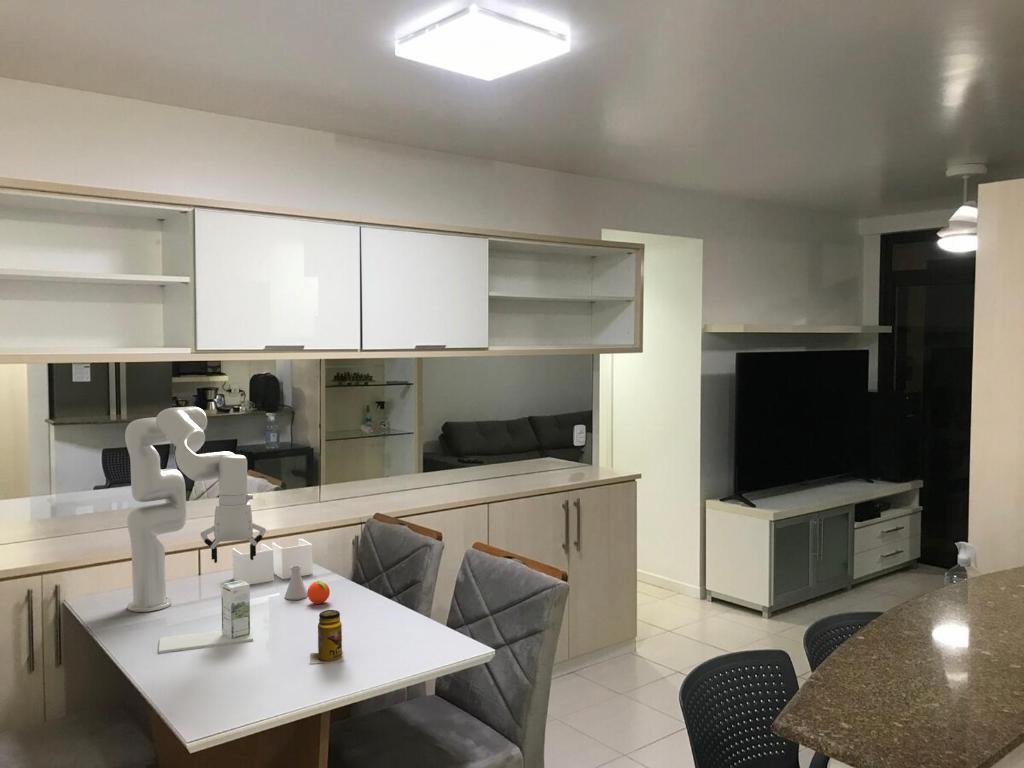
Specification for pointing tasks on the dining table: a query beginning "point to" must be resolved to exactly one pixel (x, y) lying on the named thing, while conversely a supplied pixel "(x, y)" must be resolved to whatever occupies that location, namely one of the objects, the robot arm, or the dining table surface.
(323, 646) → the condiment
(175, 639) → the mat
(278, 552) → the white double bin
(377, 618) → the dining table surface
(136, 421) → the robot arm
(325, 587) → the clementine
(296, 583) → the flask
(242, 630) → the syrup box
